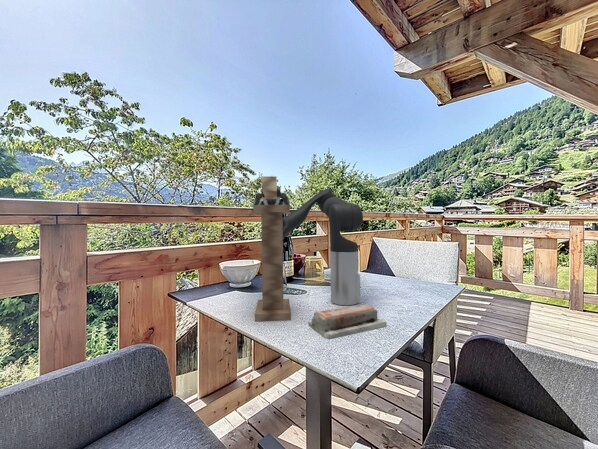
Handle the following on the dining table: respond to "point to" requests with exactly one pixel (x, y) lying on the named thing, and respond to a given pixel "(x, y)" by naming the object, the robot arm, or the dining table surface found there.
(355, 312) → the red and grey block
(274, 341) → the dining table surface
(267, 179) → the beige wooden bar
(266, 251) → the stand
